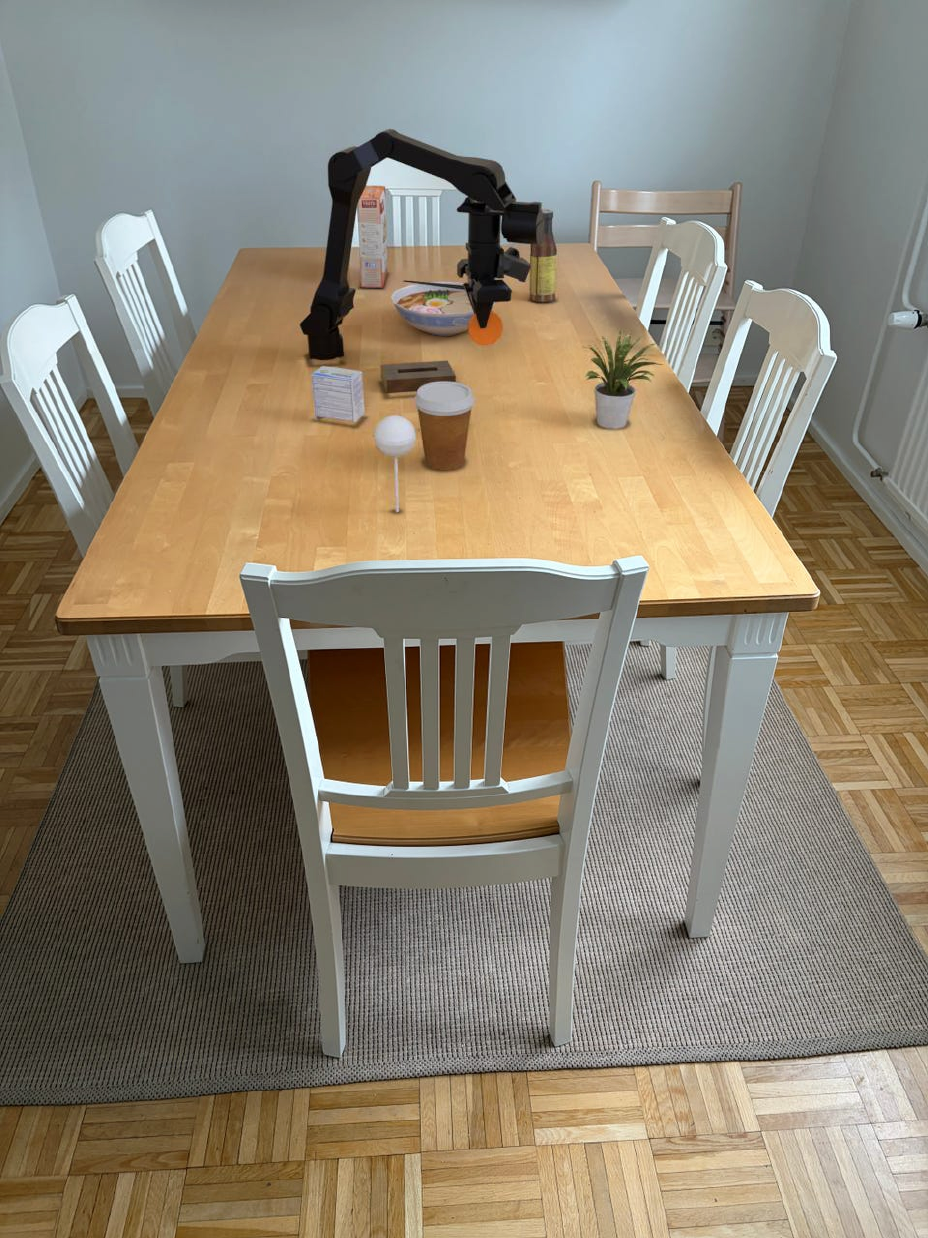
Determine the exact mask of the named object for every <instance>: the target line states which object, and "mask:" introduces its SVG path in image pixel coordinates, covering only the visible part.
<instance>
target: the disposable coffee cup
mask: <svg viewBox="0 0 928 1238" xmlns="http://www.w3.org/2000/svg"><path fill="white" fill-rule="evenodd" d="M413 401H414V405H415V406H416V409H417V415H418V421H419V422H418V423H419V428H420V436H421V442H422V448H423V455H424V463H425V465H426V466H427V467H429V468H431V469H435V470H439V471H450V470H456V469H458V468H460V467H461V466H463V465H464V463H465V462H464V461H465V455H466V450H467V449H466V447H467V441H468V434H469V426H470V421H471V415H472V408H473V407H474V404H475V401H476V398H475V396H474V395H473V391H472V389H471V388H470V387H469V386H468V385H465V384H463V383H459V382H457V381H456V382H446V381H444V382H432V383H428V384H425V385H423V386H421V387H420V388H419V389H418V390H417V391H416V395H415V396H414V398H413Z"/></svg>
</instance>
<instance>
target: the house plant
mask: <svg viewBox="0 0 928 1238" xmlns="http://www.w3.org/2000/svg"><path fill="white" fill-rule="evenodd" d="M632 333H633V331H629V332H628V333H627V334H626V335H625V337H624V338H623V340H622V342H621V337H622V329H620V330H619V332H618V335H617V338H616V344H615V350H614V356H613V350H612V347H611V345H610V343H609V342H608V340H607V339H606V338H605V337H604V336H603V335H601V338H602V340H600V339H596V338H595V340H596V341H599V342H601V343H602V344H603V345H604V349H605V351H606V355H607V362H606V360H605V357H604V355H603V353H602V352H601V350H600V349H599V348H598V347H597V345H596V344H595V343H594V342H591V341H590V343H591V344H592V345H593V346H594V347H595V348H596V349H597V350H596V349H595V348H594V347H593V346H591V345H590V344H588V343H586V345H587V347H586V346H583V348H585V349H589V350H591V351H592V353H594V355H595V356H596V357H592V358H591V359H590V360H591V362H593V363H594V364H595V365H596V366H597V367H598V368H599V369H600V370H601V372H602V374H603V375H604V377H603V376H602V375H600V374H599V373H598V372H596V371H594V370H589V371H587V373H586V374H585V376H584V378H586V379H585V381H587V380H593V379H600V380H602V382H600V383H598V384H596V385H595V386H594V398H595V399H594V401H595V413H596V424H597V425H598V426H600V427H602V428H605V429H609V430H613V429H614V430H617V429H622V428H624V427H626V426H627V423H628V420H629V419H628V418H629V416H630V412H631V409H632V405H633V403H634V399H635V395H636V392H637V391H636V388H635V387H634V386H633V385H630V383H629V382H630V381H631V383H633V382H634V381H636V380H642V381H643V380H644V381H648V382H651V384H652V383H653V382H652V381H651V379H650V378H649V377H648V376H647V375H649V376H652V377H653V378H655V374H653V372H651V371H650V370H638V369H639V368H641V367H645V366H653V365H656V366H664V364H662V363H657V362H653V361H650V359H649V358H646V356H650V357H655V356H656V357H657V356H658V355H657V354H653V353H652V354H644V353H645V352H646V351H647V350H648V349H649V348H651V347H654V346H655V345H657V344H658V343H650V344H648V345H645V346H644V347H642V348H641V349H640V350H639V351H638V352H636V354H634V355H633V356H632V357H631V358H630V359H626V358H627V356H629V353H630V352H631V350H632V349H633V347H634V346H635V345H636V344H637V343H638V342H639V341H640V339H641V338H642V337H643V335H641V336H639V337H638V338H637V339H635V340H634V341H633V342H631V337H632V335H633V334H632ZM597 351H598V352H597ZM640 360H646V361H640ZM647 360H648V361H647ZM607 365H608V366H607ZM637 370H638V371H637ZM638 374H639V375H638ZM640 374H641V375H640Z"/></svg>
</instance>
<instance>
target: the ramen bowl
mask: <svg viewBox="0 0 928 1238" xmlns="http://www.w3.org/2000/svg"><path fill="white" fill-rule="evenodd" d="M402 282H403V283H411V284H410V285H406V286H403V287H401V288H398V289H396V290H394V292H393V293H392V294H391V295H390V298H391V300H392V303H393V304H394V307H395V309H396V311H397V313H398V314H399V315H400V316H401V318H402V319H403V320H404V321H405V322H406V323H407V324H409V325H410V326H412V327H414V328H416V329H418V330H420V331H423V332H426V333H429V334H430V335H433V336H439V337H452V336H456V335H458V334H460V333H463V332H466V331H468V323H469V320H470V318H471V317H472V316H473V315H474V312H473V309H472V307H471V304H470V301H469V299H468V296H467V294H466V291H465V288H464V286H463V283H464V282H459V281H418V280H405V279H404V280H402ZM512 293H513V290H512V289H511V294H512ZM495 304H496V302H494V304H493V306H492V309H493V308H494V306H495ZM492 309H491V311H493V310H492Z"/></svg>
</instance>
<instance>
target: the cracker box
mask: <svg viewBox="0 0 928 1238" xmlns="http://www.w3.org/2000/svg"><path fill="white" fill-rule="evenodd" d="M386 203H387V199H386V186H385V185H366V187H365V189H364V191H363V193H362V195H361V197H360V199H359V201H358V204H357V210H356V211H357V229H358V232H357V233H358V254H359V255H358V257H359V281H360V288H363V289H366V288H367V289H383V288H384V285H385V281H386V278H387V275H388V250H387V249H388V247H387V246H388V244H387V209H386V208H387V205H386Z"/></svg>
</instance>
